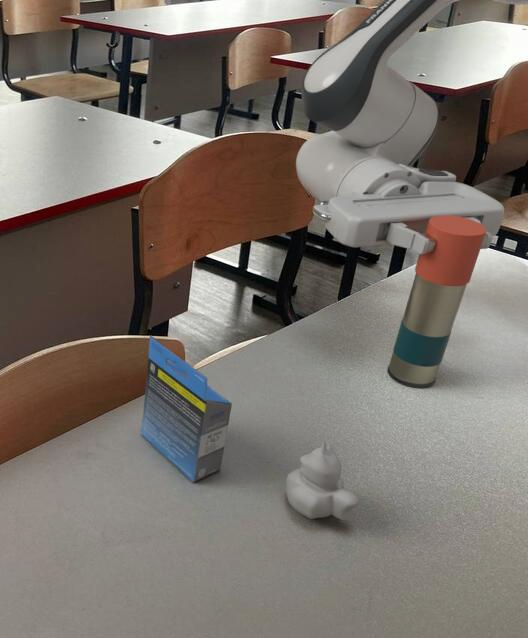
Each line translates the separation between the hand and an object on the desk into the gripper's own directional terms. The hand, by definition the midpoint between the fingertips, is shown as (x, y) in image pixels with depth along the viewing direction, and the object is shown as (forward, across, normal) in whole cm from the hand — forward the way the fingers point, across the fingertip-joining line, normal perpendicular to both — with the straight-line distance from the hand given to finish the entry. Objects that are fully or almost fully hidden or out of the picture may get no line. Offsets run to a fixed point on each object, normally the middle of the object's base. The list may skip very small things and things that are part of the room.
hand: (458, 245), depth 82 cm
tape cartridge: (+7, -33, +18) cm, 38 cm away
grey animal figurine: (+18, -23, +18) cm, 34 cm away
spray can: (-1, 0, +18) cm, 18 cm away
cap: (-1, 0, +4) cm, 4 cm away
